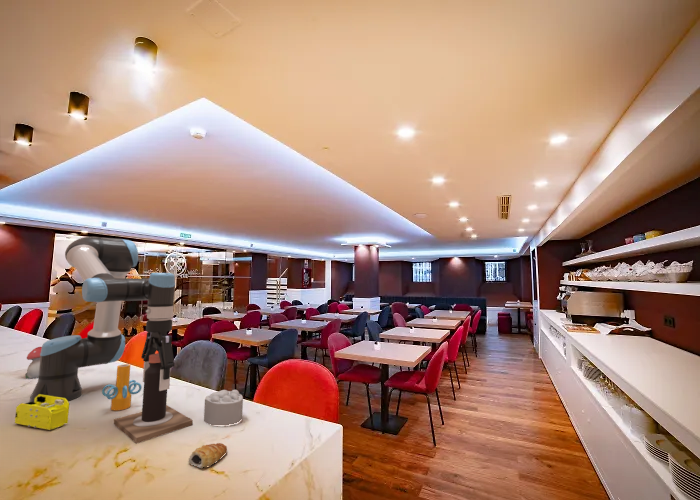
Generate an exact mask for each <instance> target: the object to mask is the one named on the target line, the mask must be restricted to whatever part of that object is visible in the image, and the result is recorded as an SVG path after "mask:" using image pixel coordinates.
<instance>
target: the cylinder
mask: <svg viewBox="0 0 700 500" xmlns="http://www.w3.org/2000/svg"><path fill="white" fill-rule="evenodd" d="M130 376H131V364H130V363H126V364H119V365H117V367H116V377H115V378H116V380H115V385H114V384H107V385H105V386H104V387H103V388H102V391H101V394H102V396H104V397H106V398H107V399H108V400H111V402H110V410H111V411H123V410H127V409H129V408H130V407H131V404H132V395H136V394H138V393H140V392H141V391H142V384H141V383H140V382H137V381H136V380H134V379H131V380H130V378H131V377H130ZM132 386H133V387H132ZM137 386H138V389H137V391H134V390H135V389H136V388H137ZM131 387H132V388H131ZM107 388H108V389H107ZM106 389H107V391H106ZM112 390H113V391H112ZM105 391H106V392H105ZM111 391H112V392H111Z"/></svg>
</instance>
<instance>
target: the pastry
mask: <svg viewBox="0 0 700 500" xmlns="http://www.w3.org/2000/svg"><path fill="white" fill-rule="evenodd" d="M226 452H228V447H227V445H225V444H223V443H222V442H217V443H210V444H205V445H204V444H203V445H202V446H201V447H198V448H196V449H195V450H194V451H192V453H191V454H190V456H189V458H188V463H189V465H190V464H191V465H194V466H197V467H196V468H199V469H204V468H203V467H207V466H210V465H212V464H213V465H214V463H215V462H216V461H218V460H219V459H220V458H221V457H222V456H223V455H224V454H225V453H226ZM226 454H227V453H226ZM218 462H219V461H218ZM191 465H190V466H191ZM213 465H212V466H213ZM194 466H193V467H194ZM210 467H211V466H210Z"/></svg>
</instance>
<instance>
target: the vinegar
mask: <svg viewBox="0 0 700 500" xmlns="http://www.w3.org/2000/svg"><path fill="white" fill-rule="evenodd" d="M149 364H150V367H149V368H148V369H147V370H146V371H145V377H144V382H143V393H142V396H143V397H142V407H141V408H142V409H141V412H142V421H144V422H153V421H157V420H160V419H162V418H164V417H165V415H166V405H167V400H168V399H167V398H168V389H166V390H162V391H159V384H160V367H162V365H161V361H160V357H159V353H157V352H156V353H155V354H151V355H149Z"/></svg>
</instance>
